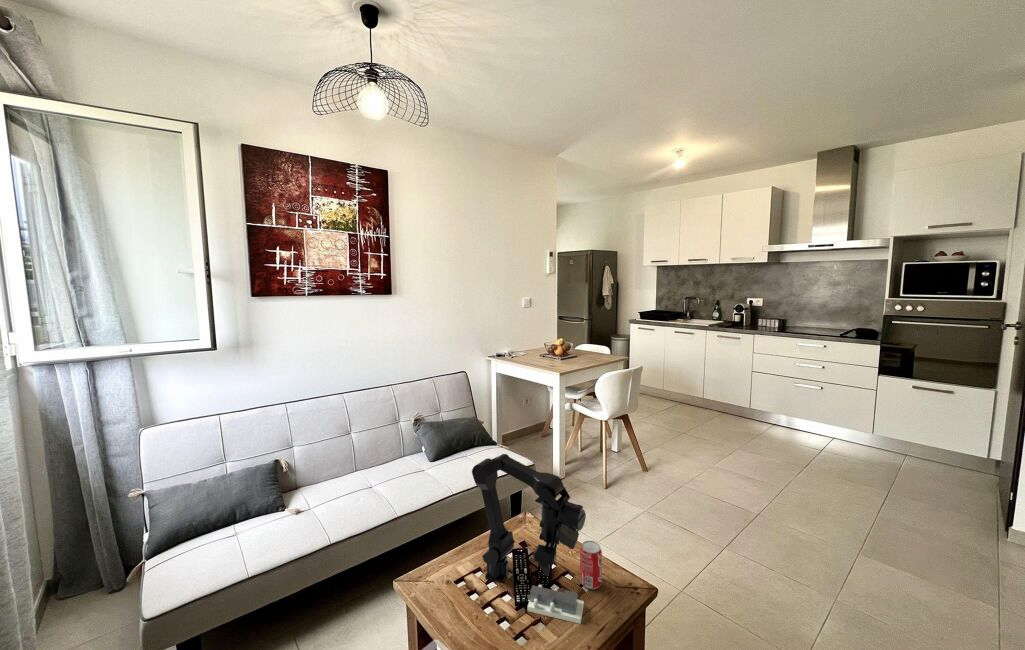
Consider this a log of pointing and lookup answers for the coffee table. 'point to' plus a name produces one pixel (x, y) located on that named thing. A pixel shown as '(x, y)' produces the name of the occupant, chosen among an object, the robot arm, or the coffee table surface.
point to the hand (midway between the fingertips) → (549, 564)
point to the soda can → (591, 565)
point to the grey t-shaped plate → (555, 598)
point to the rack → (556, 610)
